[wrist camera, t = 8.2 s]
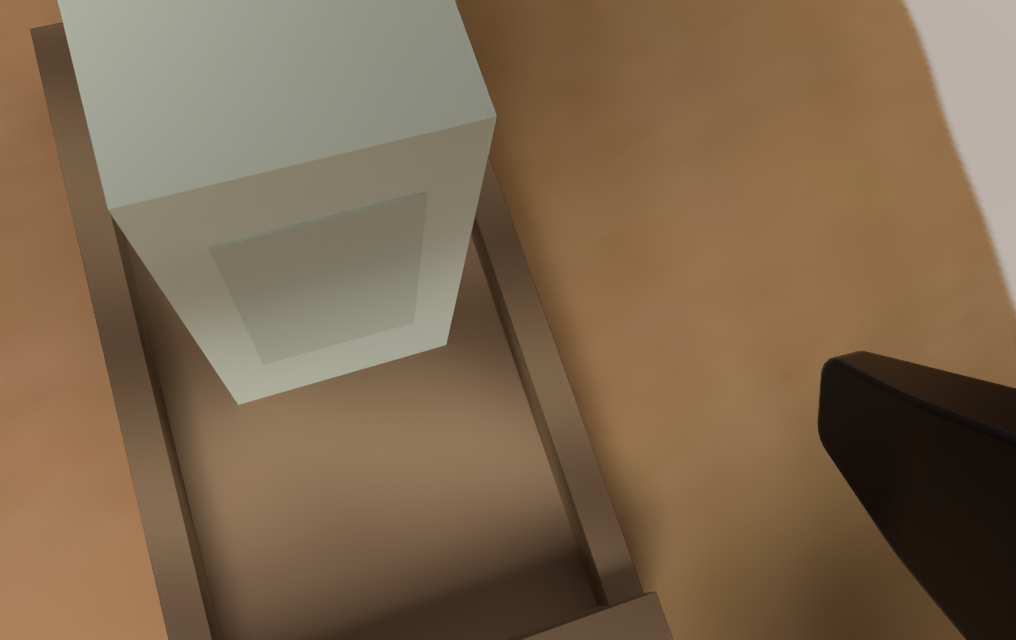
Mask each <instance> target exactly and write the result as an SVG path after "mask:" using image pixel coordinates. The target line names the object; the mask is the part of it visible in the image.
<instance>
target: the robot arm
mask: <svg viewBox="0 0 1016 640" xmlns="http://www.w3.org/2000/svg"><path fill="white" fill-rule="evenodd" d="M818 432H819V436H820V440H821V442H822V444H823V446H824V448H825V450H826V451H827V453H828V454H829V456H830V457H831V459H832V460H833V462H834V463H835V465H836V466H837V468H838V469H839V471H840V472H841V474H842V475H843V477H844V478H845V480H846V481H847V483H848V484H849V486H850V487H851V489H852V490H853V492H854V493H855V495H856V496H857V498H858V499H859V501H860V502H861V504H862V505H863V507H864V508H865V510H866V511H867V513H868V514H869V516H870V517H871V519H872V520H873V522H874V523H875V525H876V526H877V528H878V529H879V531H880V532H881V534H882V535H883V536H884V538H885V539H886V541H887V542H888V544H889V545H890V546H891V548H892V549H893V551H894V552H895V553H896V555H897V556H898V558H899V559H900V560H901V561H902V563H903V564H904V565H905V566H906V568H907V569H908V570H909V572H910V573H911V574H912V575H913V577H914V578H915V579H916V580H917V581H918V583H919V584H920V585H921V586H922V587H923V589H924V590H925V591H926V592H927V593H928V595H929V596H930V597H931V598H932V599H933V601H934V602H935V603H936V604H937V605H938V607H939V608H940V609H941V610H942V612H943V613H944V614H945V615H946V616H947V618H948V619H949V620H950V621H951V622H952V624H953V625H954V626H955V627H956V628H957V630H958V631H959V632H960V633H961V634H962V636H963V637H964V638H965V639H966V640H1016V388H1012V387H1008V386H1004V385H1000V384H996V383H992V382H988V381H983V380H979V379H975V378H971V377H967V376H963V375H959V374H955V373H951V372H947V371H943V370H939V369H935V368H931V367H927V366H923V365H919V364H915V363H911V362H907V361H903V360H899V359H895V358H890V357H886V356H882V355H878V354H874V353H870V352H866V351H857V352H853V353H849V354H845V355H841V356H838V357H834V358H830V359H829V360H828V361H827V362H826V363H825V364H824V366H823V368H822V372H821V382H820V396H819V410H818Z"/></svg>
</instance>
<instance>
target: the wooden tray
mask: <svg viewBox="0 0 1016 640" xmlns="http://www.w3.org/2000/svg"><path fill="white" fill-rule="evenodd" d="M30 31H31V35H32V40H33V44H34V49H35V53H36V57H37V62H38V66H39V71H40V75H41V80H42V84H43V88H44V93H45V97H46V102H47V106H48V110H49V115H50V119H51V124H52V128H53V132H54V137H55V141H56V146H57V150H58V154H59V159H60V163H61V168H62V172H63V176H64V181H65V185H66V190H67V194H68V199H69V203H70V207H71V212H72V216H73V221H74V225H75V229H76V234H77V238H78V243H79V247H80V251H81V256H82V260H83V265H84V269H85V273H86V278H87V282H88V287H89V291H90V295H91V300H92V304H93V309H94V313H95V318H96V322H97V326H98V331H99V335H100V340H101V344H102V348H103V353H104V357H105V362H106V366H107V370H108V375H109V379H110V384H111V388H112V392H113V397H114V401H115V406H116V410H117V414H118V419H119V423H120V428H121V432H122V437H123V441H124V445H125V450H126V454H127V459H128V463H129V467H130V472H131V476H132V481H133V485H134V489H135V494H136V498H137V503H138V507H139V511H140V516H141V520H142V525H143V529H144V533H145V538H146V542H147V547H148V551H149V556H150V560H151V564H152V569H153V573H154V578H155V582H156V586H157V591H158V595H159V600H160V604H161V608H162V613H163V617H164V622H165V626H166V630H167V635H168V639H169V640H673V638H672V635H671V632H670V629H669V626H668V624H667V621H666V618H665V615H664V612H663V610H662V607H661V604H660V601H659V598H658V596H657V593H656V592H649V593H643V590H642V587H641V584H640V581H639V579H638V576H637V573H636V570H635V567H634V564H633V562H632V559H631V556H630V553H629V550H628V547H627V545H626V542H625V539H624V536H623V533H622V531H621V528H620V525H619V522H618V519H617V516H616V514H615V511H614V508H613V505H612V502H611V499H610V497H609V494H608V491H607V488H606V485H605V483H604V480H603V477H602V474H601V471H600V468H599V466H598V463H597V460H596V457H595V454H594V451H593V449H592V446H591V443H590V440H589V437H588V435H587V432H586V429H585V426H584V423H583V420H582V418H581V415H580V412H579V409H578V406H577V403H576V401H575V398H574V395H573V392H572V389H571V386H570V384H569V381H568V378H567V375H566V372H565V370H564V367H563V364H562V361H561V358H560V355H559V353H558V350H557V347H556V344H555V341H554V338H553V336H552V333H551V330H550V327H549V324H548V322H547V319H546V316H545V313H544V310H543V307H542V305H541V302H540V299H539V296H538V293H537V290H536V288H535V285H534V282H533V279H532V276H531V274H530V271H529V268H528V265H527V262H526V259H525V257H524V254H523V251H522V248H521V245H520V242H519V240H518V237H517V234H516V231H515V228H514V226H513V223H512V220H511V217H510V214H509V211H508V209H507V206H506V203H505V200H504V197H503V194H502V192H501V189H500V186H499V183H498V180H497V178H496V175H495V172H494V169H493V166H492V163H491V161H490V158H489V155H488V160H487V164H486V169H485V173H484V178H483V182H482V187H481V191H480V196H479V200H478V205H477V209H476V214H475V218H474V223H473V227H472V231H471V236H470V240H469V245H468V249H467V254H466V258H465V263H464V267H463V272H462V276H461V281H460V285H459V290H458V294H457V299H456V303H455V308H454V312H453V317H452V321H451V326H450V330H449V335H448V339H447V344H446V345H445V346H441V347H438V348H434V349H431V350H427V351H424V352H420V353H417V354H413V355H410V356H407V357H403V358H400V359H396V360H393V361H389V362H386V363H382V364H379V365H375V366H372V367H368V368H365V369H361V370H358V371H354V372H351V373H347V374H344V375H341V376H337V377H334V378H330V379H327V380H323V381H320V382H316V383H313V384H309V385H306V386H302V387H299V388H295V389H292V390H288V391H285V392H281V393H278V394H275V395H271V396H268V397H264V398H261V399H257V400H254V401H250V402H247V403H243V404H240V405H238V404H237V402H236V401H235V399H234V398H233V396H232V395H231V393H230V392H229V390H228V389H227V387H226V386H225V384H224V383H223V381H222V380H221V378H220V377H219V375H218V374H217V372H216V371H215V369H214V368H213V366H212V365H211V363H210V362H209V360H208V359H207V357H206V356H205V354H204V353H203V351H202V350H201V348H200V347H199V345H198V344H197V342H196V341H195V339H194V338H193V336H192V335H191V333H190V332H189V330H188V329H187V327H186V326H185V324H184V323H183V321H182V320H181V318H180V317H179V315H178V314H177V312H176V311H175V309H174V308H173V306H172V305H171V303H170V302H169V300H168V299H167V297H166V296H165V294H164V293H163V291H162V290H161V288H160V287H159V285H158V284H157V282H156V281H155V279H154V278H153V277H152V275H151V274H150V272H149V271H148V269H147V268H146V266H145V265H144V263H143V262H142V260H141V259H140V257H139V256H138V254H137V253H136V251H135V250H134V248H133V247H132V245H131V244H130V242H129V241H128V239H127V238H126V236H125V235H124V233H123V232H122V230H121V229H120V227H119V226H118V224H117V223H116V221H115V220H114V218H113V217H112V215H111V214H110V212H109V211H108V208H107V204H106V200H105V196H104V192H103V187H102V183H101V179H100V175H99V171H98V167H97V162H96V158H95V154H94V150H93V146H92V142H91V137H90V133H89V129H88V125H87V121H86V117H85V112H84V108H83V104H82V100H81V96H80V92H79V87H78V83H77V79H76V75H75V71H74V67H73V63H72V58H71V54H70V50H69V46H68V42H67V38H66V33H65V29H64V25H63V23H58V24H52V25H47V26H42V27H37V28H32V29H30Z"/></svg>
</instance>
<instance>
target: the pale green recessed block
mask: <svg viewBox="0 0 1016 640" xmlns="http://www.w3.org/2000/svg"><path fill="white" fill-rule="evenodd" d="M58 4H59V8H60V13H61V17H62V21H63V25H64V29H65V33H66V38H67V42H68V46H69V50H70V54H71V58H72V63H73V67H74V71H75V75H76V79H77V83H78V87H79V92H80V96H81V100H82V104H83V108H84V112H85V117H86V121H87V125H88V129H89V133H90V137H91V142H92V146H93V150H94V154H95V158H96V162H97V167H98V171H99V175H100V179H101V183H102V187H103V192H104V196H105V200H106V204H107V208H108V211H109V212H110V214H111V215H112V217H113V218H114V220H115V221H116V223H117V224H118V226H119V227H120V229H121V230H122V232H123V233H124V235H125V236H126V238H127V239H128V241H129V242H130V244H131V245H132V247H133V248H134V250H135V251H136V253H137V254H138V256H139V257H140V259H141V260H142V262H143V263H144V265H145V266H146V268H147V269H148V271H149V272H150V274H151V275H152V277H153V278H154V279H155V281H156V282H157V284H158V285H159V287H160V288H161V290H162V291H163V293H164V294H165V296H166V297H167V299H168V300H169V302H170V303H171V305H172V306H173V308H174V309H175V311H176V312H177V314H178V315H179V317H180V318H181V320H182V321H183V323H184V324H185V326H186V327H187V329H188V330H189V332H190V333H191V335H192V336H193V338H194V339H195V341H196V342H197V344H198V345H199V347H200V348H201V350H202V351H203V353H204V354H205V356H206V357H207V359H208V360H209V362H210V363H211V365H212V366H213V368H214V369H215V371H216V372H217V374H218V375H219V377H220V378H221V380H222V381H223V383H224V384H225V386H226V387H227V389H228V390H229V392H230V393H231V395H232V396H233V398H234V399H235V401H236V402H237V404H238V405H240V404H243V403H247V402H250V401H254V400H257V399H261V398H264V397H268V396H271V395H275V394H278V393H281V392H285V391H288V390H292V389H295V388H299V387H302V386H306V385H309V384H313V383H316V382H320V381H323V380H327V379H330V378H334V377H337V376H341V375H344V374H347V373H351V372H354V371H358V370H361V369H365V368H368V367H372V366H375V365H379V364H382V363H386V362H389V361H393V360H396V359H400V358H403V357H407V356H410V355H413V354H417V353H420V352H424V351H427V350H431V349H434V348H438V347H441V346H445V345H446V344H447V339H448V335H449V330H450V326H451V321H452V317H453V312H454V308H455V303H456V299H457V294H458V290H459V285H460V281H461V276H462V272H463V267H464V263H465V258H466V254H467V249H468V245H469V240H470V236H471V231H472V227H473V223H474V218H475V214H476V209H477V205H478V200H479V196H480V191H481V187H482V182H483V178H484V173H485V169H486V164H487V160H488V155H489V151H490V146H491V142H492V137H493V133H494V128H495V124H496V119H497V115H496V112H495V109H494V107H493V104H492V101H491V98H490V96H489V93H488V90H487V87H486V85H485V82H484V79H483V76H482V74H481V71H480V68H479V65H478V63H477V60H476V57H475V54H474V52H473V49H472V46H471V43H470V41H469V38H468V35H467V32H466V30H465V27H464V24H463V21H462V19H461V16H460V13H459V10H458V8H457V5H456V2H455V0H58Z"/></svg>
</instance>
